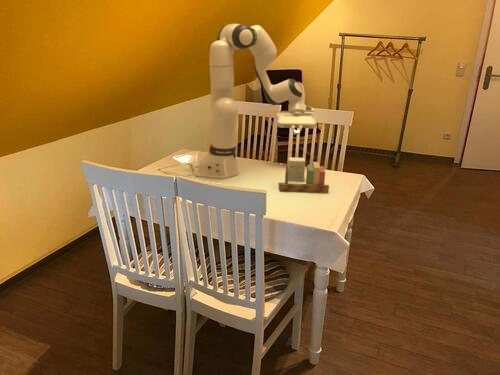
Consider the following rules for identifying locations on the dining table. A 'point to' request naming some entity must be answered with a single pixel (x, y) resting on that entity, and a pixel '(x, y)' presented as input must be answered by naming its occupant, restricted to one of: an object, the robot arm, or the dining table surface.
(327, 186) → the walnut rail
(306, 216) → the dining table surface
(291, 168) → the small box
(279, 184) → the bookend
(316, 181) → the upright books
